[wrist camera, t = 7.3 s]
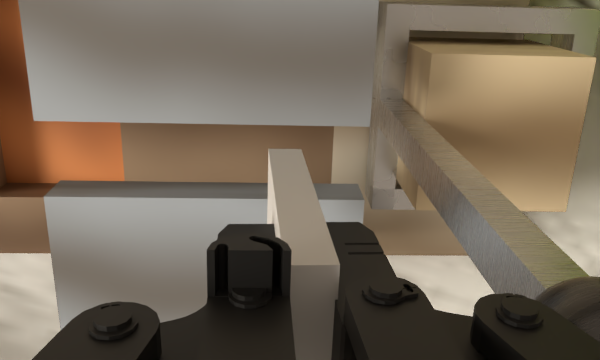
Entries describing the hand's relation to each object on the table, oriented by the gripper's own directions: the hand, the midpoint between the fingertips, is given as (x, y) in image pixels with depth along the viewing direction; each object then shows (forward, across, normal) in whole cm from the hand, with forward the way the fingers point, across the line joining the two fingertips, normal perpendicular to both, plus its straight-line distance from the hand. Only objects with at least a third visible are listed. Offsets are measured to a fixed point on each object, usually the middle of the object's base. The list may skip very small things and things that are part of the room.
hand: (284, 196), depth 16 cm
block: (+12, +9, 0) cm, 14 cm away
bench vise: (+14, -2, 0) cm, 15 cm away
